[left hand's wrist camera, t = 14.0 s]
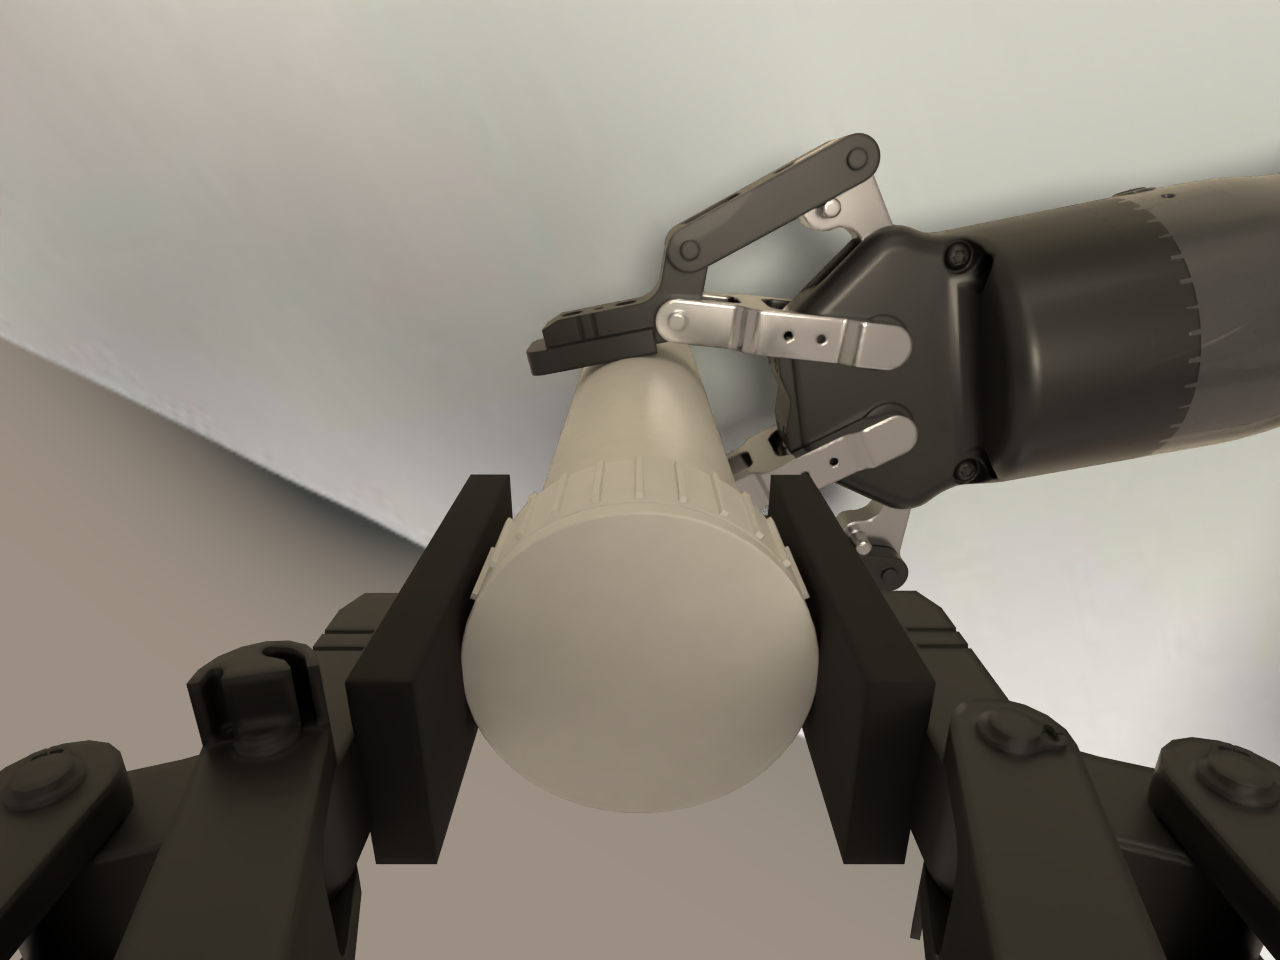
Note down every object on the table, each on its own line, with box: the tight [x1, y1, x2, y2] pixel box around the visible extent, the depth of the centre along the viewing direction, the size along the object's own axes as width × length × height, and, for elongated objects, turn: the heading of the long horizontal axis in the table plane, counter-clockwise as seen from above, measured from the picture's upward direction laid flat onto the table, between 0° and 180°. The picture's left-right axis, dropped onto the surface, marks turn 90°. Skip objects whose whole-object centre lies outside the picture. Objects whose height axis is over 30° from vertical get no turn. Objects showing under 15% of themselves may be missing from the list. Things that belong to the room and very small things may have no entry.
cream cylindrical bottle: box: [542, 342, 738, 491], centre depth 20 cm, size 4×4×19 cm
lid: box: [461, 456, 819, 813], centre depth 11 cm, size 5×5×2 cm
